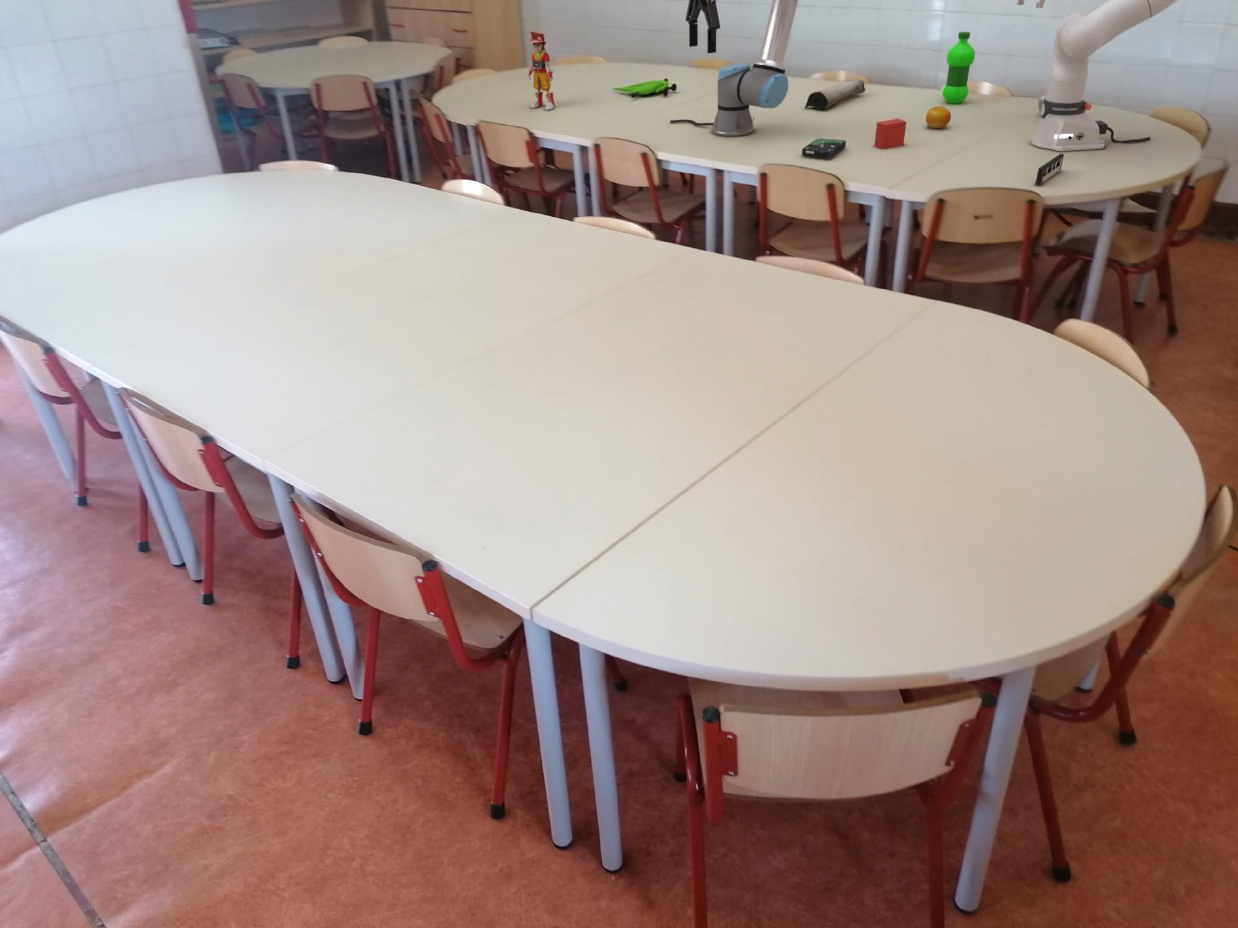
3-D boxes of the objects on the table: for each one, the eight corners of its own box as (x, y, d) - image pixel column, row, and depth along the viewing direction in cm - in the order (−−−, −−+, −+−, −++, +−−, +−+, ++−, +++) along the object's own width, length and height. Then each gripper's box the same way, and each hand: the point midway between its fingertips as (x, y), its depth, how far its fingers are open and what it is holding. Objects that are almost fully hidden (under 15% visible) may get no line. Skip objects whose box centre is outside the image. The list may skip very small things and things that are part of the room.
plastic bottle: (973, 101, 354) (984, 32, 339) (955, 106, 349) (966, 36, 335) (952, 97, 361) (962, 29, 346) (934, 102, 356) (944, 33, 342)
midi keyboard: (1039, 185, 269) (1043, 168, 266) (1035, 184, 270) (1038, 168, 267) (1060, 170, 279) (1064, 154, 277) (1056, 169, 280) (1060, 153, 277)
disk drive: (830, 160, 301) (845, 148, 311) (830, 152, 299) (846, 140, 309) (801, 157, 305) (817, 145, 315) (801, 148, 304) (818, 137, 314)
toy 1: (525, 109, 381) (517, 32, 364) (534, 104, 388) (527, 28, 371) (550, 110, 377) (543, 32, 360) (559, 105, 384) (553, 28, 367)
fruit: (920, 119, 323) (935, 99, 320) (921, 122, 331) (935, 102, 328) (940, 132, 322) (955, 112, 319) (940, 135, 329) (955, 115, 326)
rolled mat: (840, 84, 376) (857, 68, 368) (852, 102, 376) (869, 87, 368) (801, 102, 358) (818, 86, 350) (814, 122, 359) (831, 106, 351)
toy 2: (686, 85, 398) (631, 84, 414) (685, 72, 395) (629, 72, 411) (651, 104, 381) (596, 103, 397) (650, 92, 378) (594, 91, 394)
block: (903, 145, 311) (906, 121, 306) (882, 149, 308) (885, 125, 304) (895, 142, 314) (898, 118, 310) (874, 145, 312) (876, 122, 308)
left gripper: (731, -22, 270) (730, 54, 282) (696, -29, 289) (696, 42, 301) (709, -20, 267) (708, 57, 280) (675, -27, 287) (676, 45, 299)
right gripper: (1067, -37, 301) (1058, 9, 308) (1024, -42, 316) (1016, 2, 324) (1052, -35, 299) (1043, 11, 307) (1010, -40, 315) (1002, 4, 323)
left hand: (702, 49), depth 290 cm, fingers open, 13 cm apart
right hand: (1029, 6), depth 316 cm, fingers open, 8 cm apart
